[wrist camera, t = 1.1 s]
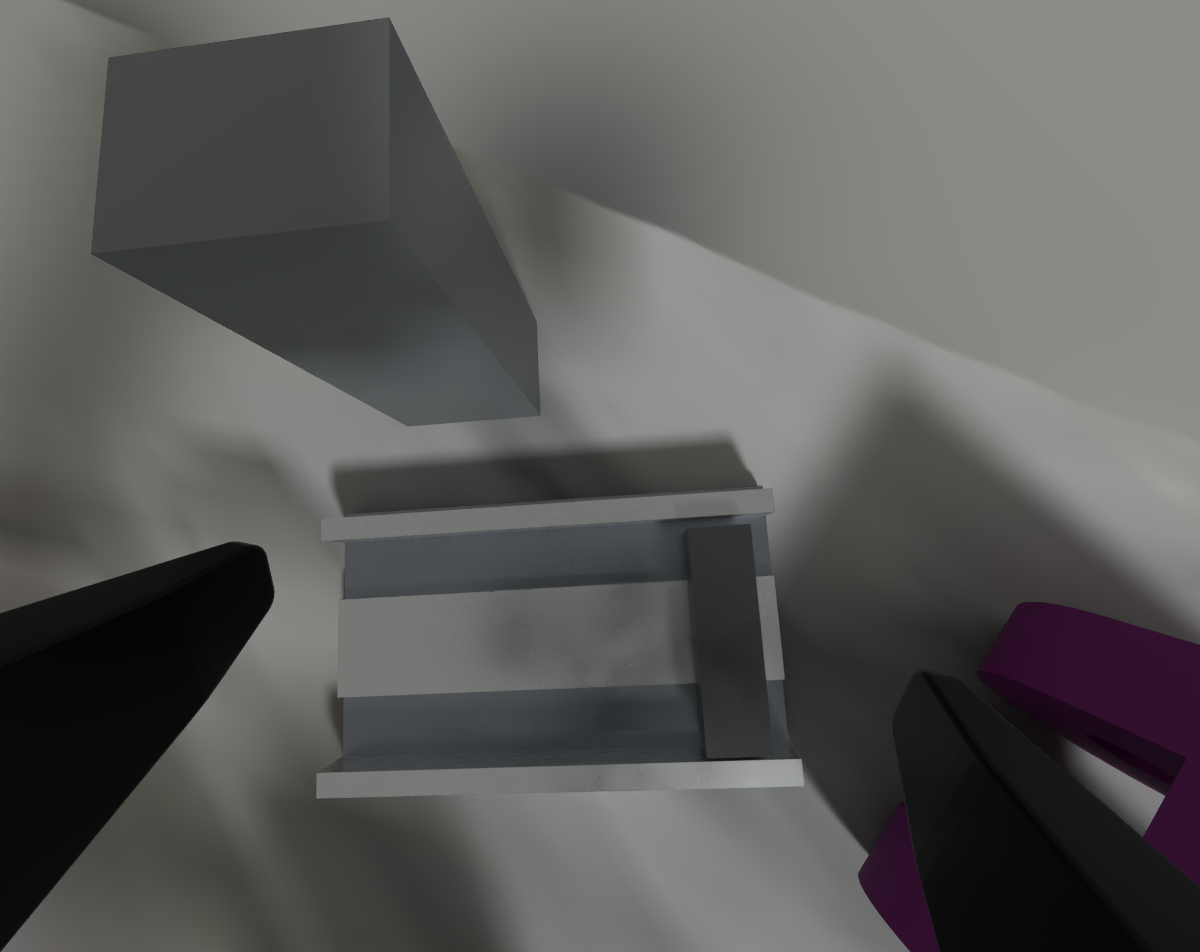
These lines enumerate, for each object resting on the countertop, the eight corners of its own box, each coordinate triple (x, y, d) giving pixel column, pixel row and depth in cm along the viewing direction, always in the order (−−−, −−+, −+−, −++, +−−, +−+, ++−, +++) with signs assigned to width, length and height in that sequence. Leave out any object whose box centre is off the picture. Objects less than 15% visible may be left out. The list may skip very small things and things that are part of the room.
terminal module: (540, 415, 22) (389, 219, 9) (407, 426, 23) (90, 253, 10) (535, 298, 23) (389, -30, 10) (407, 310, 23) (112, 12, 11)
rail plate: (758, 487, 21) (777, 475, 18) (788, 770, 19) (813, 809, 16) (353, 515, 22) (306, 508, 19) (350, 781, 21) (299, 820, 18)
